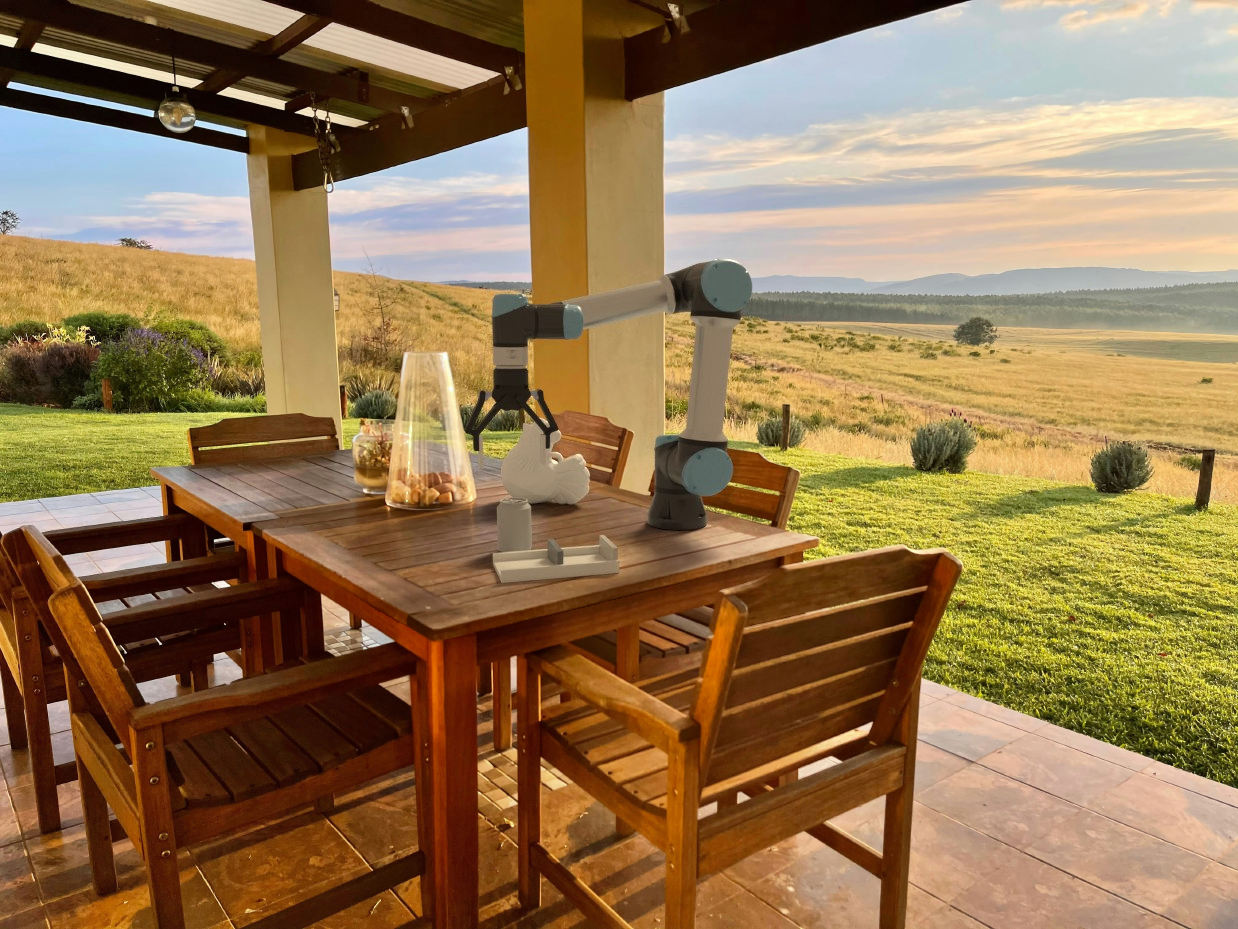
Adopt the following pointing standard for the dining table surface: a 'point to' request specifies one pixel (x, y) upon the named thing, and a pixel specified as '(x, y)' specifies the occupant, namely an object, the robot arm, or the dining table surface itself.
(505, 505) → the can
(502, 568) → the tray
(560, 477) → the decorative rooster
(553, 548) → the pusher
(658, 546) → the dining table surface
